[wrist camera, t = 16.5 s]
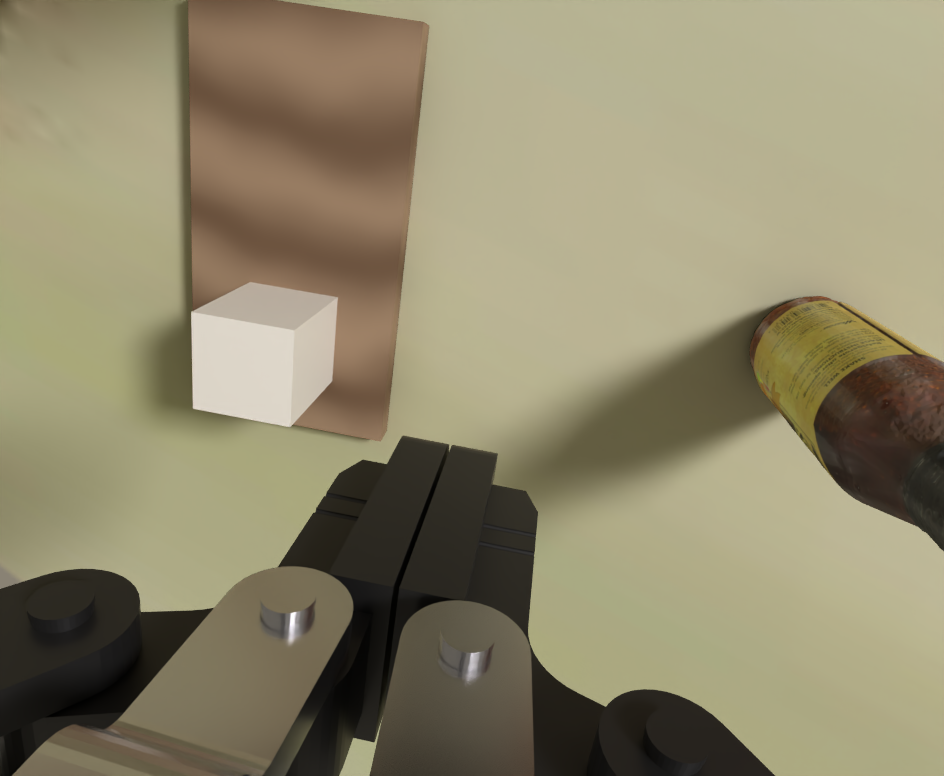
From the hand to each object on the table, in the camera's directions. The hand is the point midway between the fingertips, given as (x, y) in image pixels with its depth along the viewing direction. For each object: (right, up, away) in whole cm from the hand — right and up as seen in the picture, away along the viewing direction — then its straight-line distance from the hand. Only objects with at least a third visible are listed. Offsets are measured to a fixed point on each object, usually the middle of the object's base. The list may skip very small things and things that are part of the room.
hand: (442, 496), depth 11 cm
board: (-9, +11, +29) cm, 32 cm away
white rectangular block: (-10, +5, +29) cm, 31 cm away
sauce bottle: (+19, +4, +27) cm, 34 cm away
